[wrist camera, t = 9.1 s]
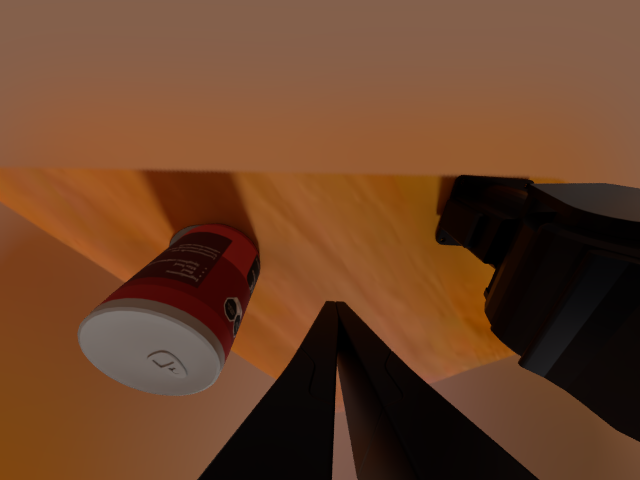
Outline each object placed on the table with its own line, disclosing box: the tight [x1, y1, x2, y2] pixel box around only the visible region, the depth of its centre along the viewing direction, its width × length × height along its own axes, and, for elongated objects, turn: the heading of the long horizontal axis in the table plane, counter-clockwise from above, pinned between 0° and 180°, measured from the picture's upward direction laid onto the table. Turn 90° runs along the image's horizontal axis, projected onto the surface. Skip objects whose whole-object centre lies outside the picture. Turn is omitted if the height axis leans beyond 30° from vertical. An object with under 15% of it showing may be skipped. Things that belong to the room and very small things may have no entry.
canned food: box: [78, 224, 260, 396], centre depth 18 cm, size 8×8×11 cm
